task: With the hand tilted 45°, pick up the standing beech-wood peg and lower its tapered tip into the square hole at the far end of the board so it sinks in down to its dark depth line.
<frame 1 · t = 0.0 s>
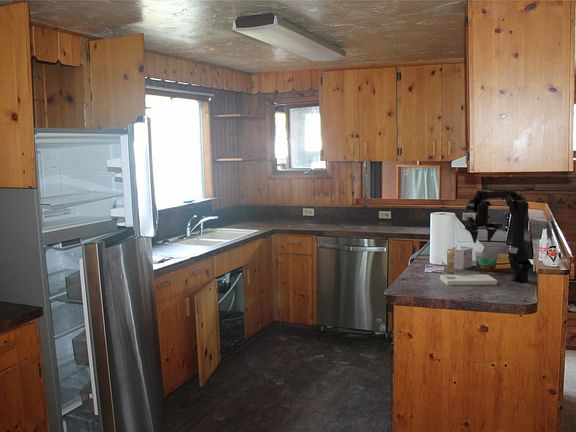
hand: (481, 242, 285), 15 cm above the worktop, tool pointing down, fingers open, 9 cm apart
wooden toy: (449, 262, 305), on the worktop
peg: (450, 277, 270), on the worktop
board: (467, 281, 260), on the worktop
light bulb box: (462, 267, 292), on the worktop
food container: (486, 271, 283), on the worktop
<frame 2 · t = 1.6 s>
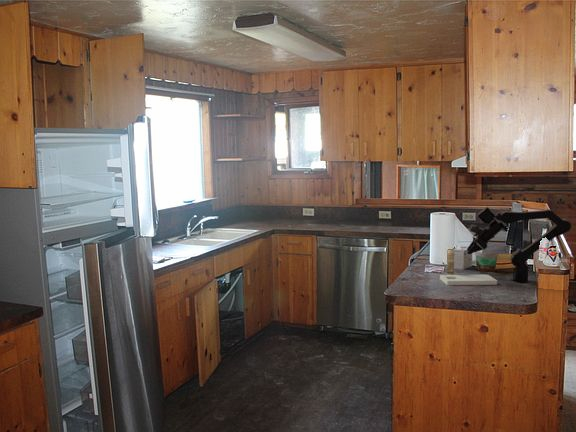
hand: (467, 251, 266), 13 cm above the worktop, tool tilted 45°, fingers open, 9 cm apart
nothing on the worktop moved.
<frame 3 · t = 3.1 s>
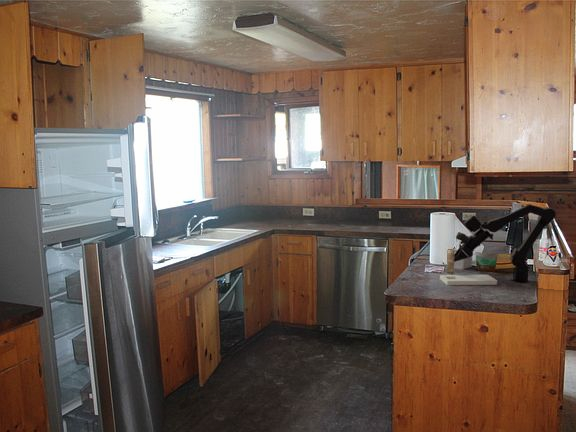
hand: (453, 259, 268), 9 cm above the worktop, tool tilted 45°, fingers open, 9 cm apart
nothing on the worktop moved.
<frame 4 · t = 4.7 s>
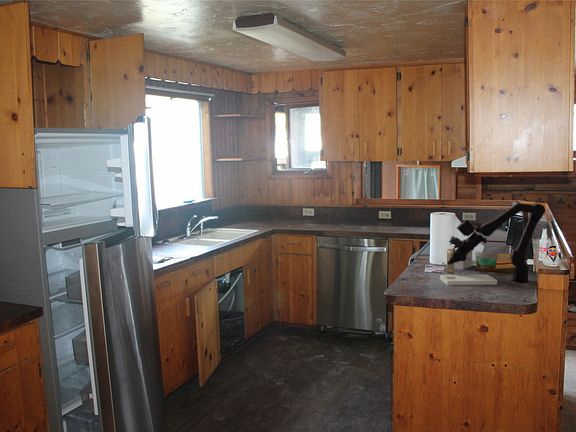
hand: (447, 263, 269), 7 cm above the worktop, tool tilted 45°, fingers closed on peg, 4 cm apart
peg: (449, 277, 270), on the worktop, touching gripper
everything else where it was.
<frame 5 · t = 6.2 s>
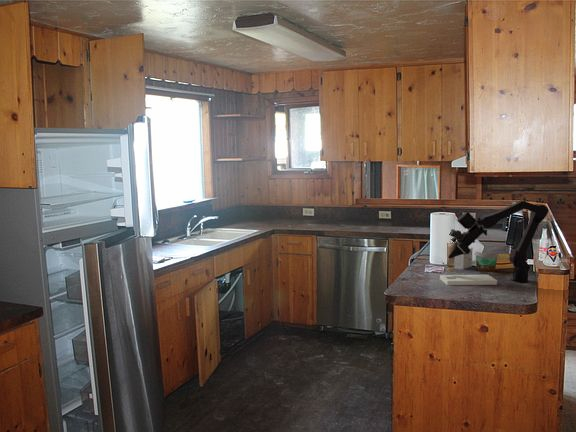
hand: (448, 257, 263), 11 cm above the worktop, tool tilted 45°, fingers closed on peg, 4 cm apart
peg: (450, 271, 264), point 4 cm above the worktop, touching gripper
everything else where it was.
when the fingers open (8 cm above the worktop, at t = 7.7 s): peg drops 1 cm, resting in board.
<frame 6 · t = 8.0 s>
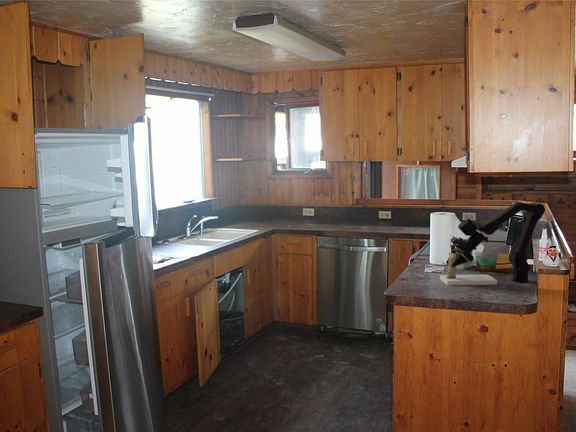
hand: (449, 264, 259), 9 cm above the worktop, tool tilted 45°, fingers open, 7 cm apart
peg: (451, 281, 260), resting in board
everything else where it was.
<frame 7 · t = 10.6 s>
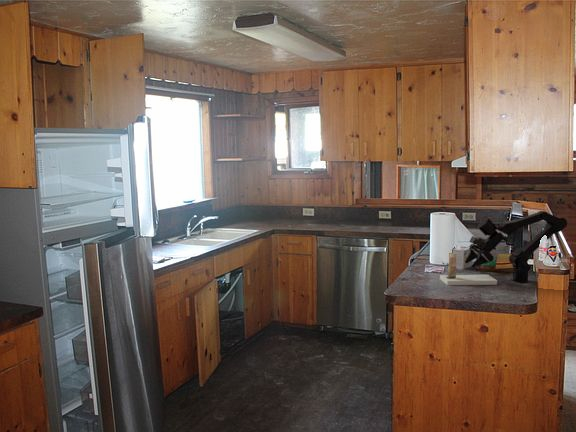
hand: (468, 264, 259), 9 cm above the worktop, tool tilted 45°, fingers open, 9 cm apart
nothing on the worktop moved.
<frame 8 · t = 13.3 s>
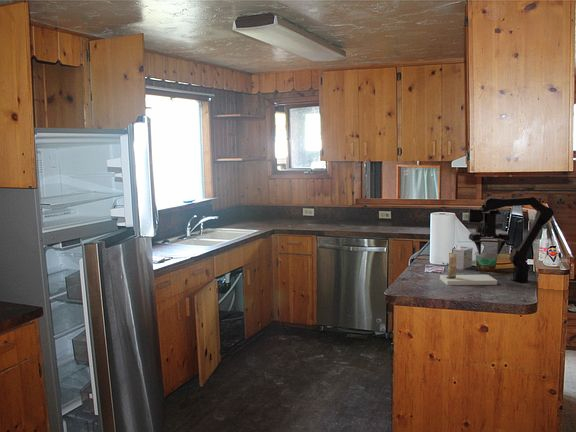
hand: (488, 254, 262), 13 cm above the worktop, tool pointing down, fingers open, 9 cm apart
nothing on the worktop moved.
at the end: peg 0.1 cm from the target spot, resting in board; peg tilted 0°; the gripper is holding nothing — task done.
